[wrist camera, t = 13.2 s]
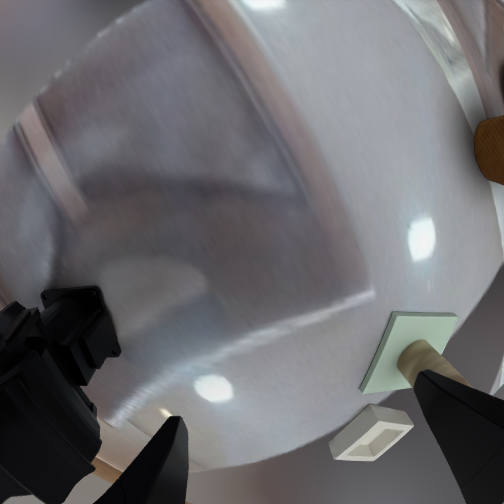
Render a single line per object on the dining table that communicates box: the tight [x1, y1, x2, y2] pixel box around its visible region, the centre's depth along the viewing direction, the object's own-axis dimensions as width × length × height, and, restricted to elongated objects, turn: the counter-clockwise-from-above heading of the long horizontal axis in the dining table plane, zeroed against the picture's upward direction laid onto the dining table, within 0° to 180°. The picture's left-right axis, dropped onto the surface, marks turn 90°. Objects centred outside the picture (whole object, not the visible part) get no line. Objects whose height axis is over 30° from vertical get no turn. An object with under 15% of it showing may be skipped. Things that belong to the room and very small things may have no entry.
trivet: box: [360, 312, 458, 394], centre depth 23 cm, size 9×9×1 cm
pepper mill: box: [397, 339, 473, 388], centre depth 15 cm, size 4×4×15 cm
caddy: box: [328, 404, 414, 461], centre depth 25 cm, size 7×7×3 cm
